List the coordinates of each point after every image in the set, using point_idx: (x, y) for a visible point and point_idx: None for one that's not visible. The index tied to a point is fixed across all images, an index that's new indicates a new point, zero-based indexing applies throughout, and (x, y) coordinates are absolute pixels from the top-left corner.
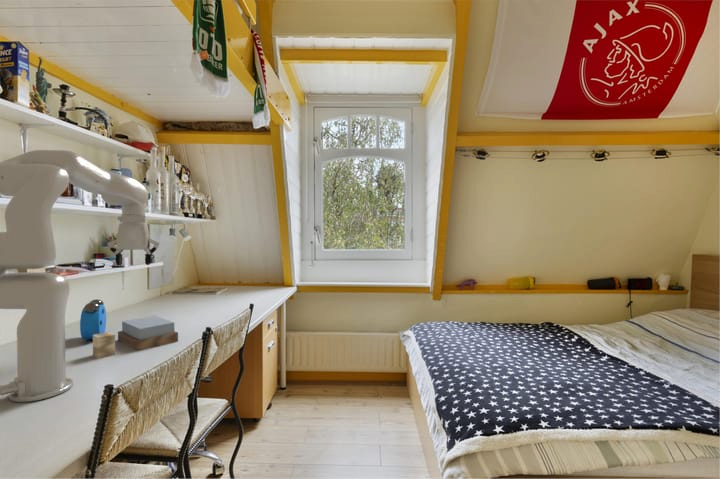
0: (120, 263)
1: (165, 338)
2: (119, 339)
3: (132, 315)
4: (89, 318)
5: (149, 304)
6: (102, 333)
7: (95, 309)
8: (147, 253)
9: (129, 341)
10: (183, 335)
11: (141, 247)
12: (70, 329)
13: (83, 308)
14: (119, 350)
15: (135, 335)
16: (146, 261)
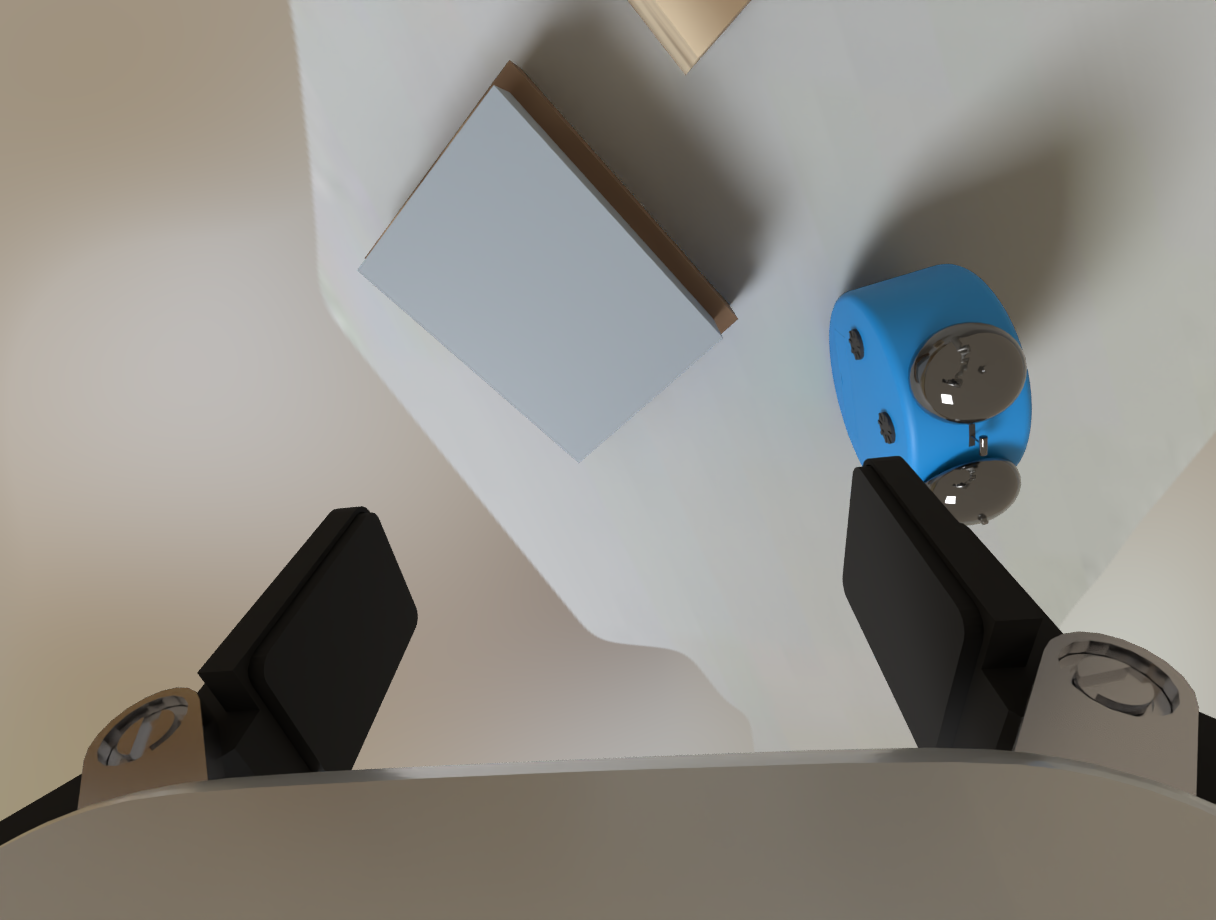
0: (858, 533)
1: None
2: (717, 292)
3: (823, 708)
4: (933, 302)
5: None
6: (732, 3)
7: (926, 343)
8: (195, 709)
9: (614, 176)
10: (416, 361)
11: (80, 866)
12: (1042, 527)
13: (1026, 375)
14: (636, 89)
15: (567, 158)
16: (328, 543)
